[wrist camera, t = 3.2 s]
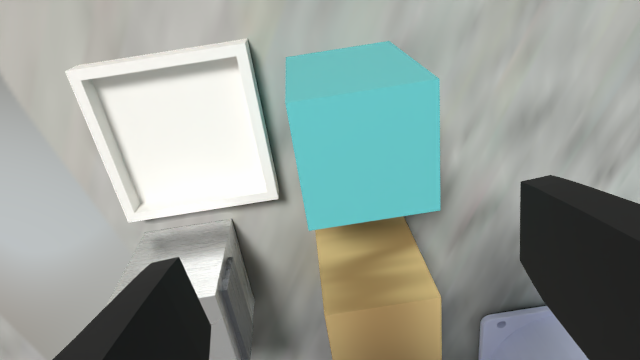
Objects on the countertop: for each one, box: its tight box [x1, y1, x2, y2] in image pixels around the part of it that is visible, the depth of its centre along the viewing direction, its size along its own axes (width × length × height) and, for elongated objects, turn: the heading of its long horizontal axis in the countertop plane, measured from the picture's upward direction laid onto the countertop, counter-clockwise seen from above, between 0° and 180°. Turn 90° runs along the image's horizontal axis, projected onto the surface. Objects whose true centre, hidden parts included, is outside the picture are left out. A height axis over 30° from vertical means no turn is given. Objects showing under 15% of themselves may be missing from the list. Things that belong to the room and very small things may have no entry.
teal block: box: [285, 41, 440, 231], centre depth 14 cm, size 4×4×6 cm
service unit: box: [106, 219, 255, 360], centre depth 18 cm, size 4×5×5 cm
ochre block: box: [315, 216, 442, 360], centre depth 18 cm, size 4×4×6 cm
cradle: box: [65, 39, 279, 222], centre depth 17 cm, size 6×6×1 cm
